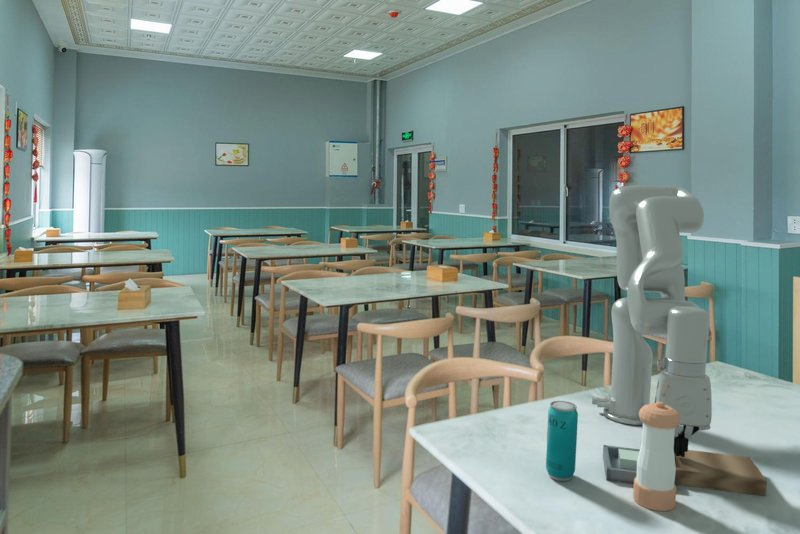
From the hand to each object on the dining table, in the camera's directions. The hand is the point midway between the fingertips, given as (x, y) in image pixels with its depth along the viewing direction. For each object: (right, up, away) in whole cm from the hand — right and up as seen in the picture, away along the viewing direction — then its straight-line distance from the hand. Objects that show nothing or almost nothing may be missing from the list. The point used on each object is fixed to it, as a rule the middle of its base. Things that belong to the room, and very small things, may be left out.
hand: (678, 453), depth 119 cm
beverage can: (-25, -4, -2) cm, 25 cm away
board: (+6, -4, -1) cm, 8 cm away
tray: (-8, -4, +1) cm, 9 cm away
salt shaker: (-10, -5, -11) cm, 16 cm away
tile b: (-9, -1, +3) cm, 9 cm away
